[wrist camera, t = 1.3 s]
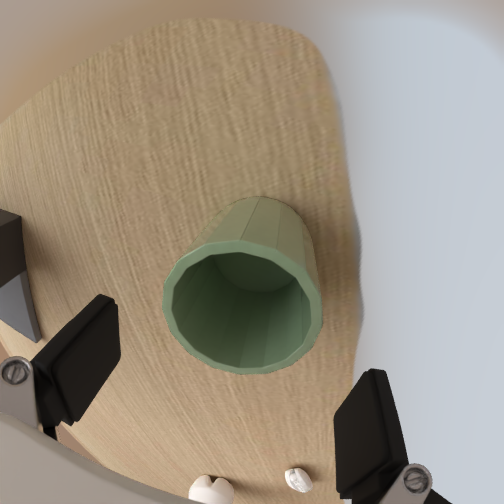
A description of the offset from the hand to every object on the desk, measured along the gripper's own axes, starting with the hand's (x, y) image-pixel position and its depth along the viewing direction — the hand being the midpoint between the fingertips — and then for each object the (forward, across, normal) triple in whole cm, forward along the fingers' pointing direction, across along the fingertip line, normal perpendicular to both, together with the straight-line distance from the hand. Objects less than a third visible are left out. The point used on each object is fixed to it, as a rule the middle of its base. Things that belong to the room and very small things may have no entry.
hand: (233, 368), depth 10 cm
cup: (+11, 0, 0) cm, 11 cm away
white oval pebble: (+11, -14, +32) cm, 36 cm away
